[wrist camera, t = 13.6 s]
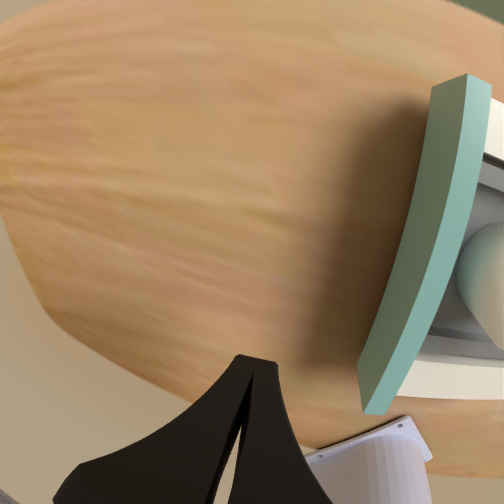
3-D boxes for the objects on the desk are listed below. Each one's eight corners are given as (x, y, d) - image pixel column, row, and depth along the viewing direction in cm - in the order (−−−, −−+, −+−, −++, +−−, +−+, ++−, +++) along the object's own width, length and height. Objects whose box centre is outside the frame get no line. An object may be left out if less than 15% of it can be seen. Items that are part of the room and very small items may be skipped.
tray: (571, 157, 11) (613, 167, 7) (492, 377, 17) (513, 415, 13) (431, 87, 12) (467, 73, 9) (356, 364, 18) (362, 413, 14)
